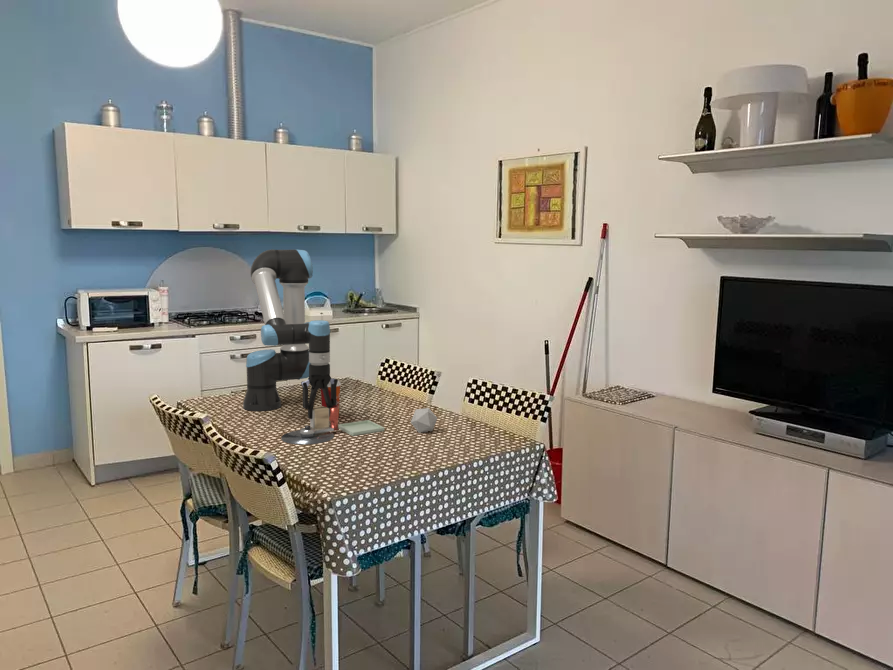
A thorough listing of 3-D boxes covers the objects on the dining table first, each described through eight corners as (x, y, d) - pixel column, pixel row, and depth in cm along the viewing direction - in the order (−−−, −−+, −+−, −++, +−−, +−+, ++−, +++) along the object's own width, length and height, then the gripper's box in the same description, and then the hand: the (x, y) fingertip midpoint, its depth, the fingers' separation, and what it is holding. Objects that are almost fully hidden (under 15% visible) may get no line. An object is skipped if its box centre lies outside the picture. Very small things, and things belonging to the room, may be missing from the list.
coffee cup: (337, 422, 255) (336, 383, 253) (316, 421, 257) (315, 382, 255) (344, 417, 264) (344, 379, 262) (324, 415, 265) (324, 378, 263)
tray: (337, 428, 247) (337, 424, 247) (368, 423, 254) (368, 419, 254) (352, 436, 237) (352, 432, 237) (384, 431, 244) (384, 427, 243)
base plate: (274, 435, 238) (273, 424, 237) (321, 428, 248) (321, 417, 247) (292, 448, 223) (292, 436, 222) (342, 440, 233) (342, 428, 232)
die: (431, 428, 251) (414, 407, 250) (445, 420, 245) (429, 399, 244) (418, 441, 245) (402, 419, 244) (433, 434, 239) (416, 411, 238)
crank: (303, 438, 232) (303, 413, 231) (298, 434, 236) (297, 410, 235) (340, 432, 239) (340, 408, 238) (335, 429, 243) (334, 405, 242)
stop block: (310, 426, 247) (310, 407, 247) (323, 424, 250) (322, 405, 250) (316, 428, 243) (315, 409, 243) (328, 426, 246) (328, 407, 245)
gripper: (299, 367, 236) (300, 431, 239) (346, 363, 245) (346, 425, 249) (292, 363, 242) (292, 426, 245) (338, 359, 252) (338, 420, 255)
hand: (319, 425), depth 247 cm, fingers closed on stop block, 5 cm apart
